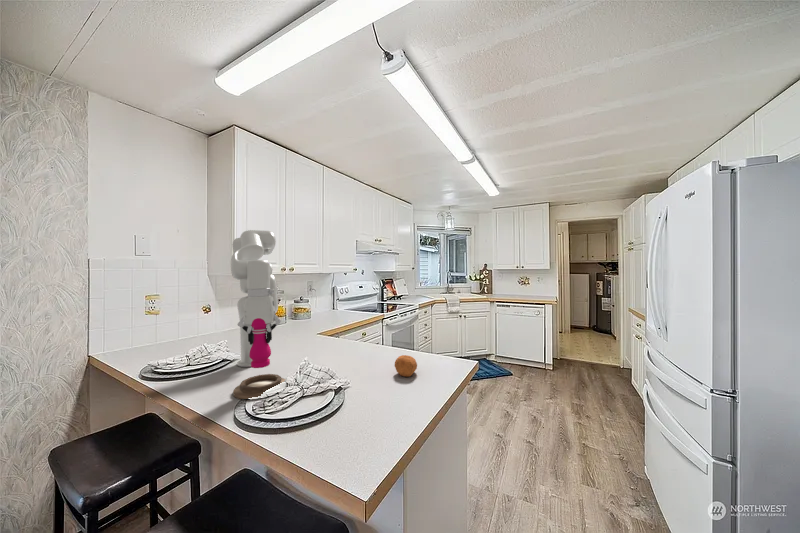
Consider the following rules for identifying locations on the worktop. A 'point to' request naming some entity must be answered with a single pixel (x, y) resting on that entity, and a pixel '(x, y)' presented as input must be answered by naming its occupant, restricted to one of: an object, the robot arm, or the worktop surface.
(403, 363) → the potato
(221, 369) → the worktop surface
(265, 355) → the pepper mill
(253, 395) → the round tray
